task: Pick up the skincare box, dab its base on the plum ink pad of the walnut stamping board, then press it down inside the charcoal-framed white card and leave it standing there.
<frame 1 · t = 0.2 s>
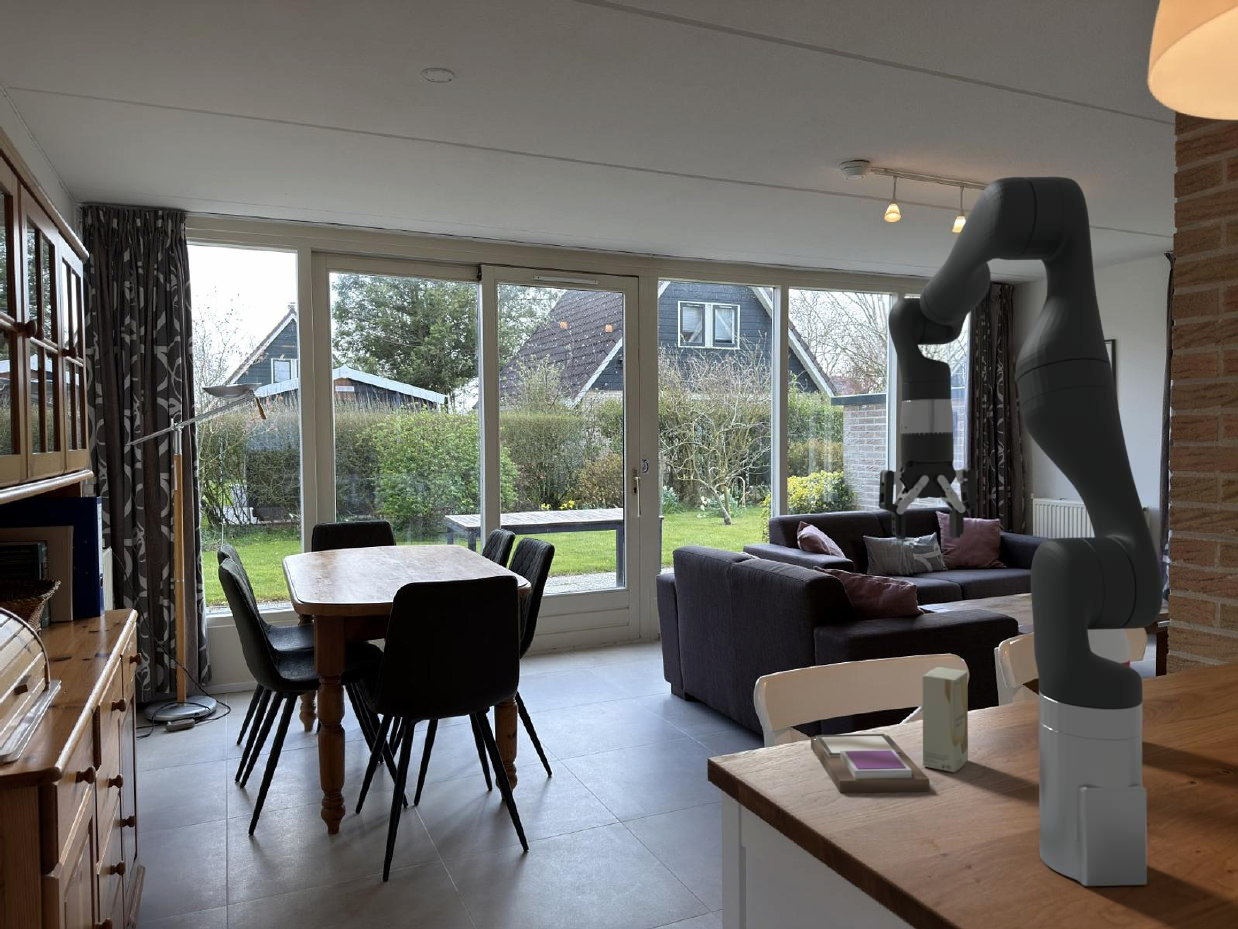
hand: (927, 538, 131), 28 cm above the kitchen island, fingers open, 8 cm apart
stamping board: (865, 767, 115), on the kitchen island
fruit juice: (1092, 740, 125), on the kitchen island
skincare box: (945, 765, 117), on the kitchen island
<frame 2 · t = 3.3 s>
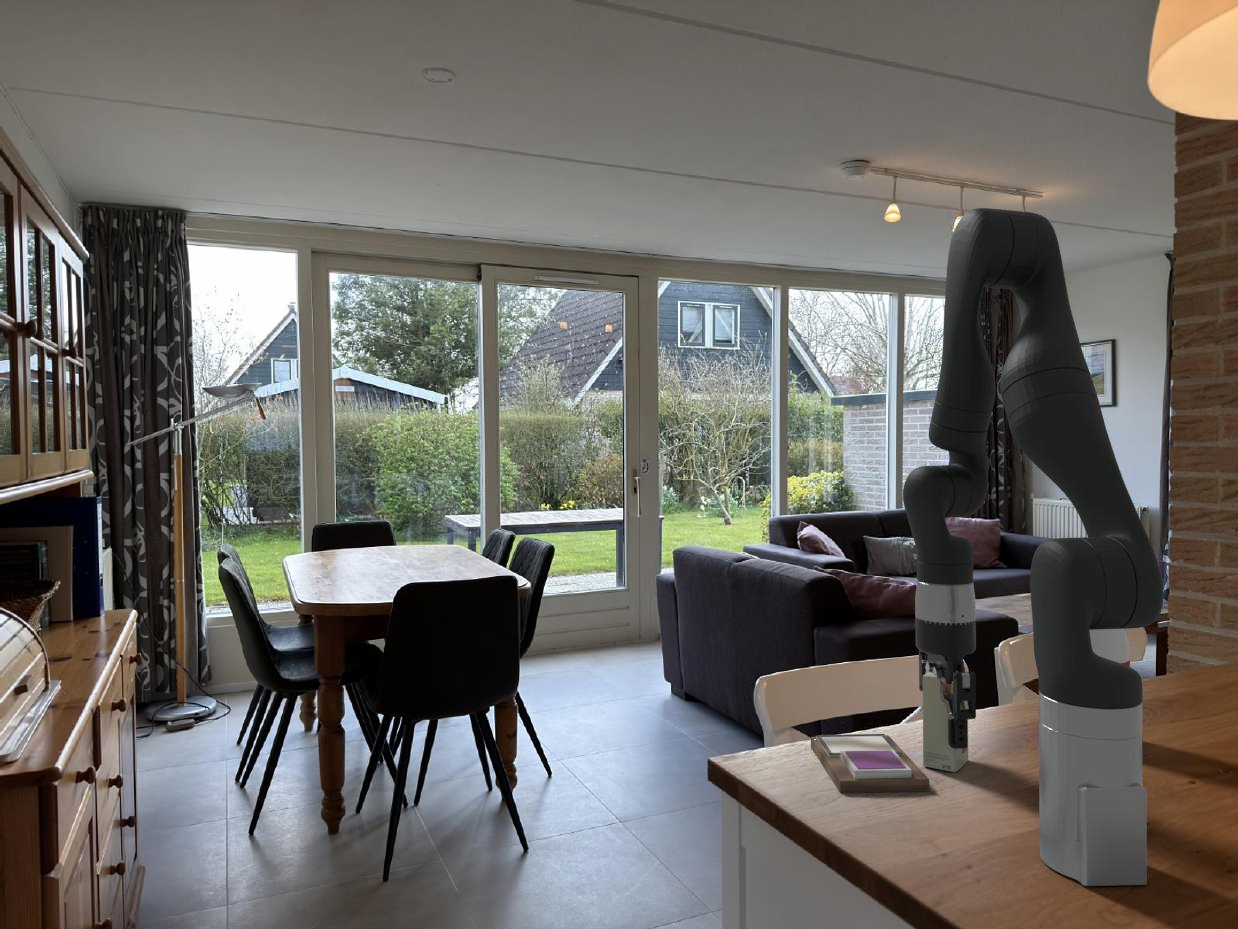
hand: (946, 737, 116), 4 cm above the kitchen island, fingers closed on skincare box, 7 cm apart
skincare box: (946, 765, 117), on the kitchen island, touching gripper
everything else where it was.
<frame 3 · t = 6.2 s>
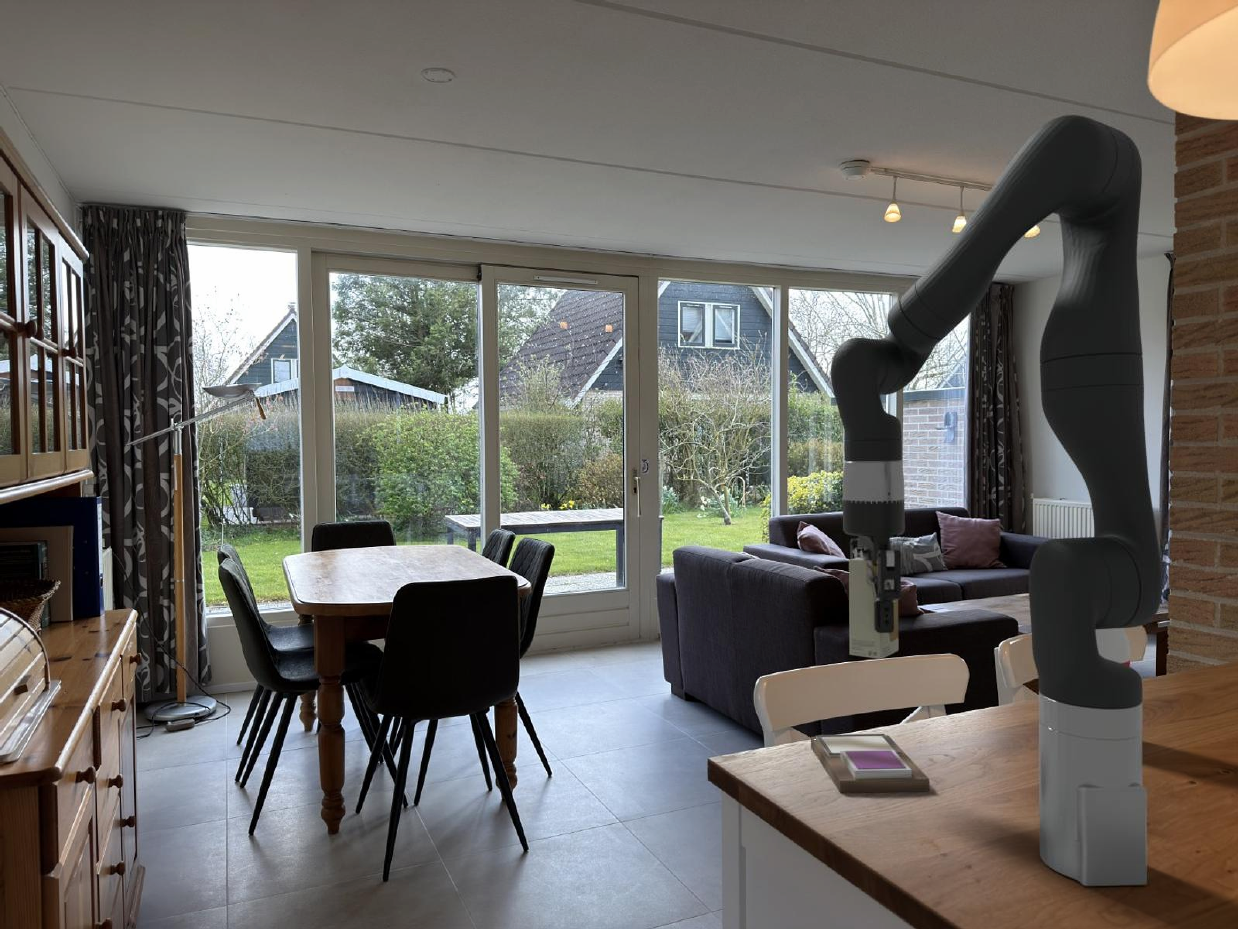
hand: (874, 625, 111), 20 cm above the kitchen island, fingers closed on skincare box, 7 cm apart
skincare box: (874, 654, 111), point 16 cm above the kitchen island, touching gripper
everything else where it was.
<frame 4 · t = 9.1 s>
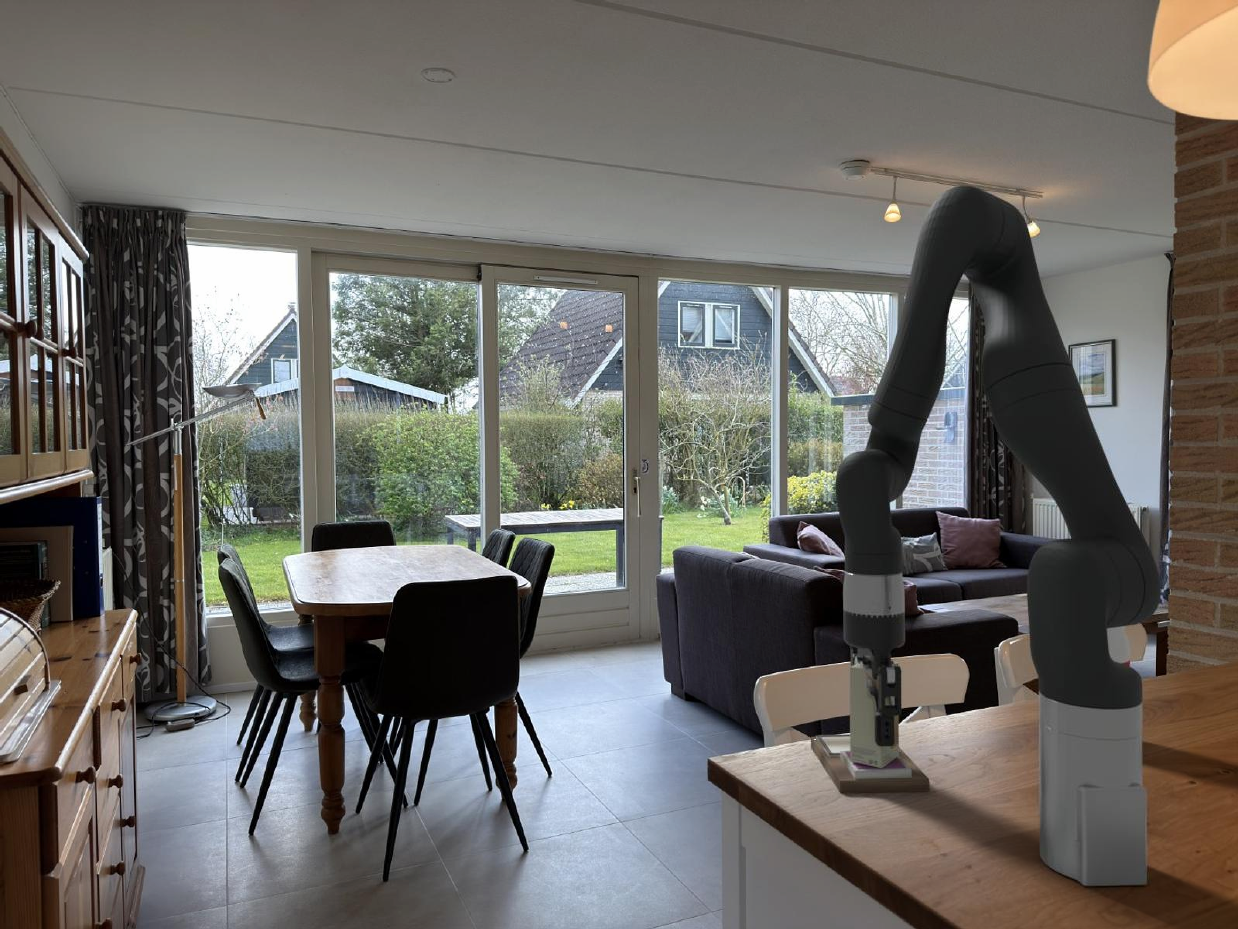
hand: (875, 734, 111), 6 cm above the kitchen island, fingers closed on skincare box, 7 cm apart
skincare box: (875, 760, 112), point 2 cm above the kitchen island, touching gripper, stamping board
everything else where it was.
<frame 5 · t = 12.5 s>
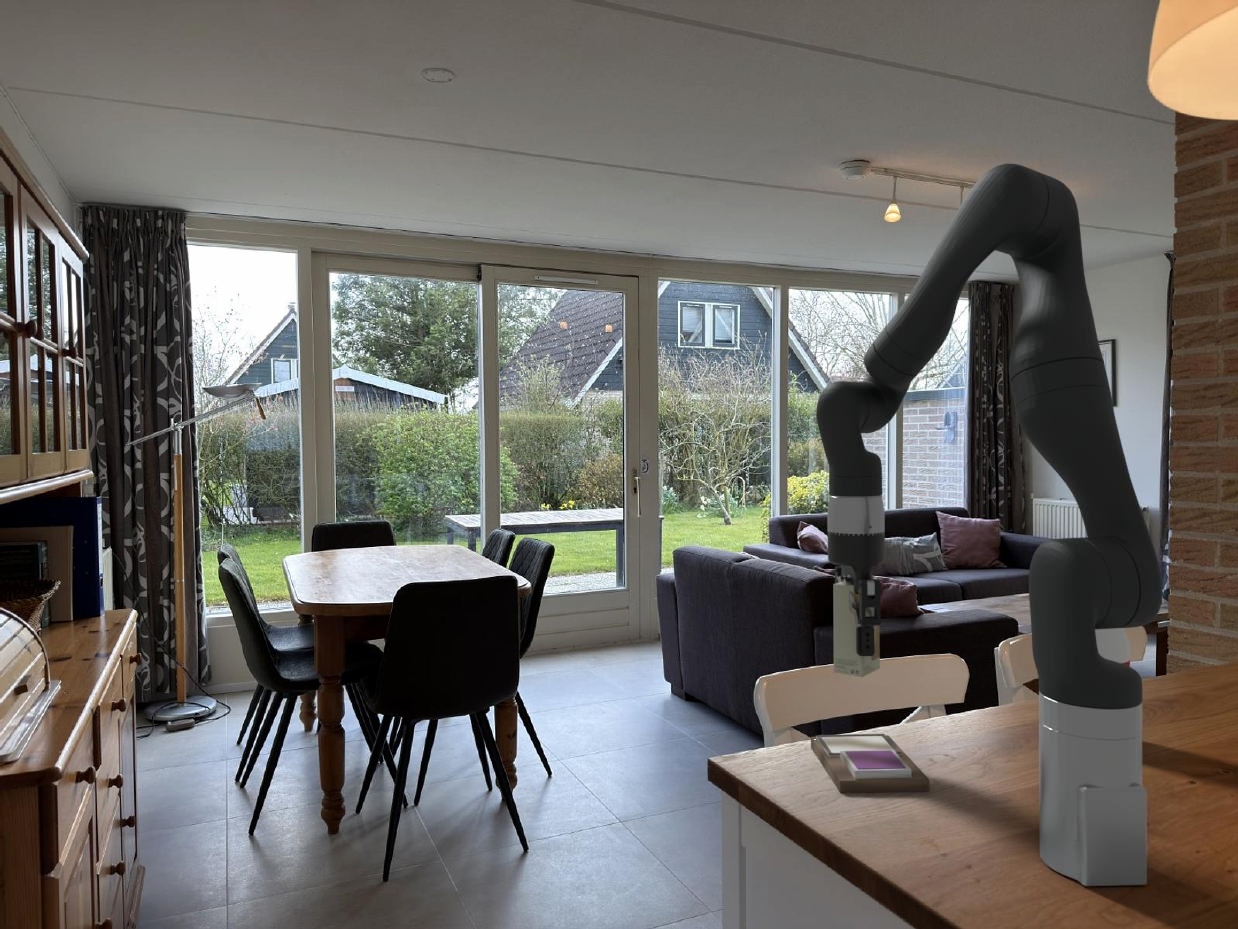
hand: (857, 648, 119), 15 cm above the kitchen island, fingers closed on skincare box, 7 cm apart
skincare box: (857, 672, 119), point 12 cm above the kitchen island, touching gripper
everything else where it was.
when the fingers open (5 cm above the kitchen island, at t = 15.3 s): skincare box stays where it is, resting on stamping board.
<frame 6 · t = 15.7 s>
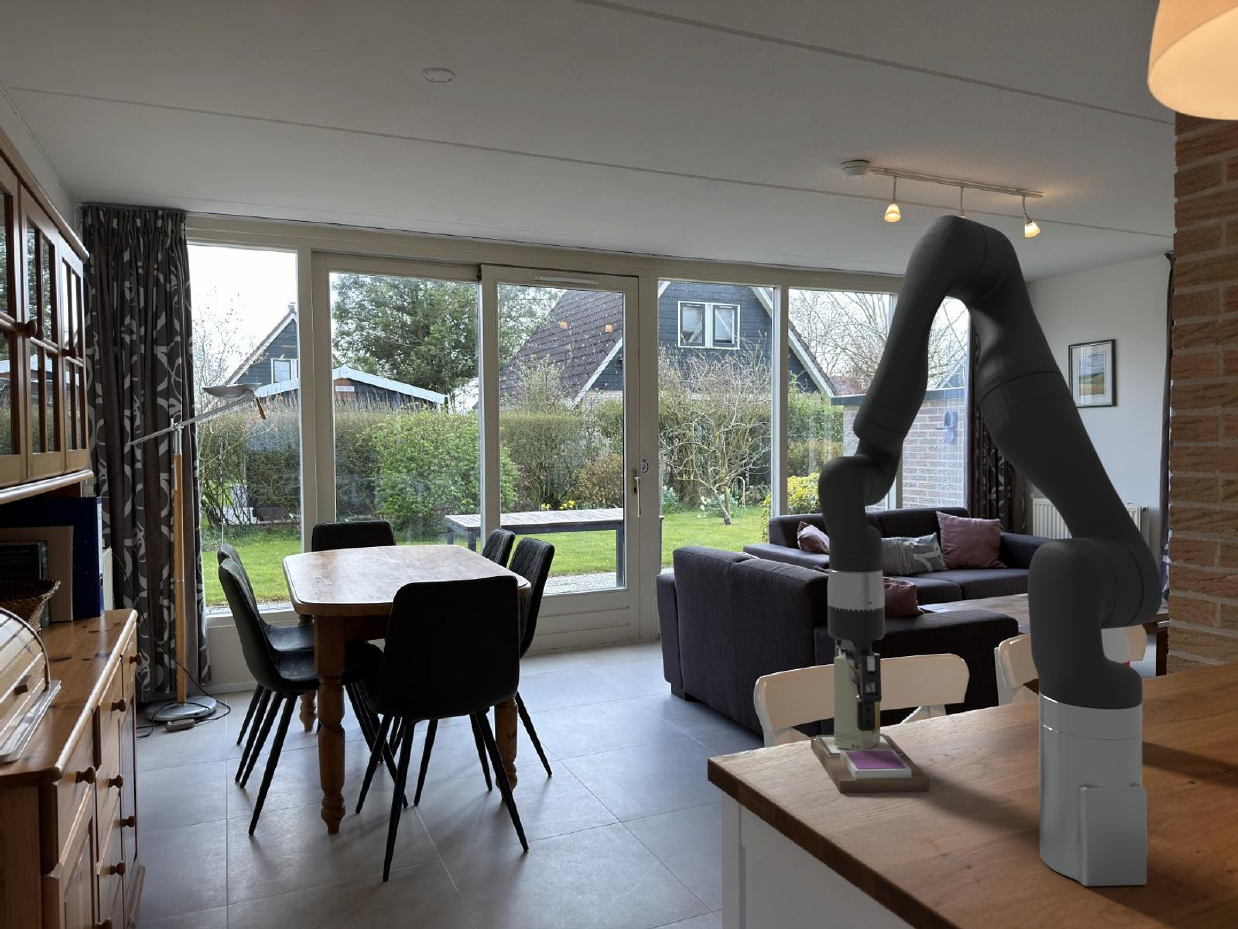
hand: (857, 719, 119), 5 cm above the kitchen island, fingers open, 8 cm apart
skincare box: (857, 745, 119), point 2 cm above the kitchen island, touching stamping board
everything else where it was.
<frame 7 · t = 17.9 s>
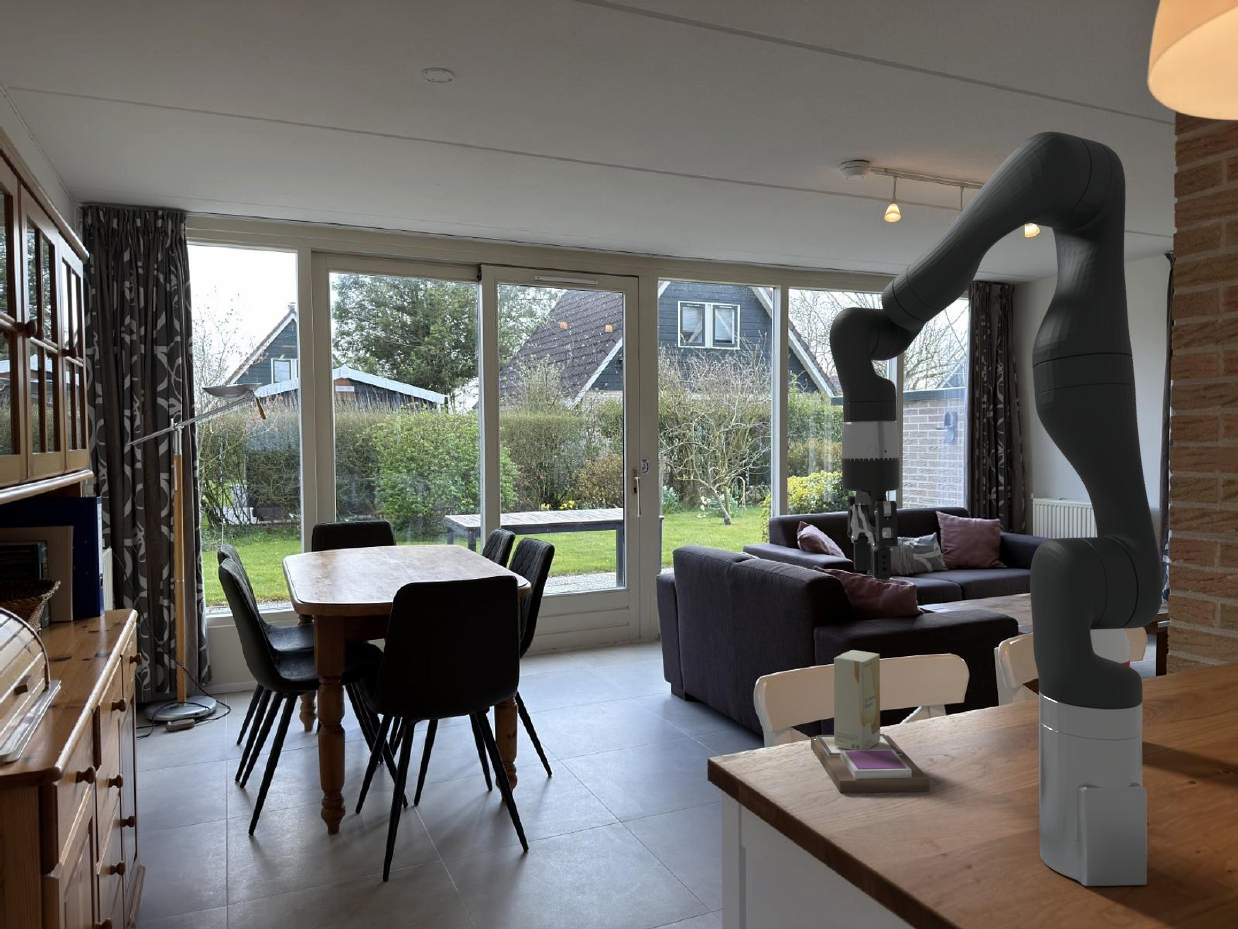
hand: (871, 574, 119), 25 cm above the kitchen island, fingers open, 8 cm apart
nothing on the kitchen island moved.
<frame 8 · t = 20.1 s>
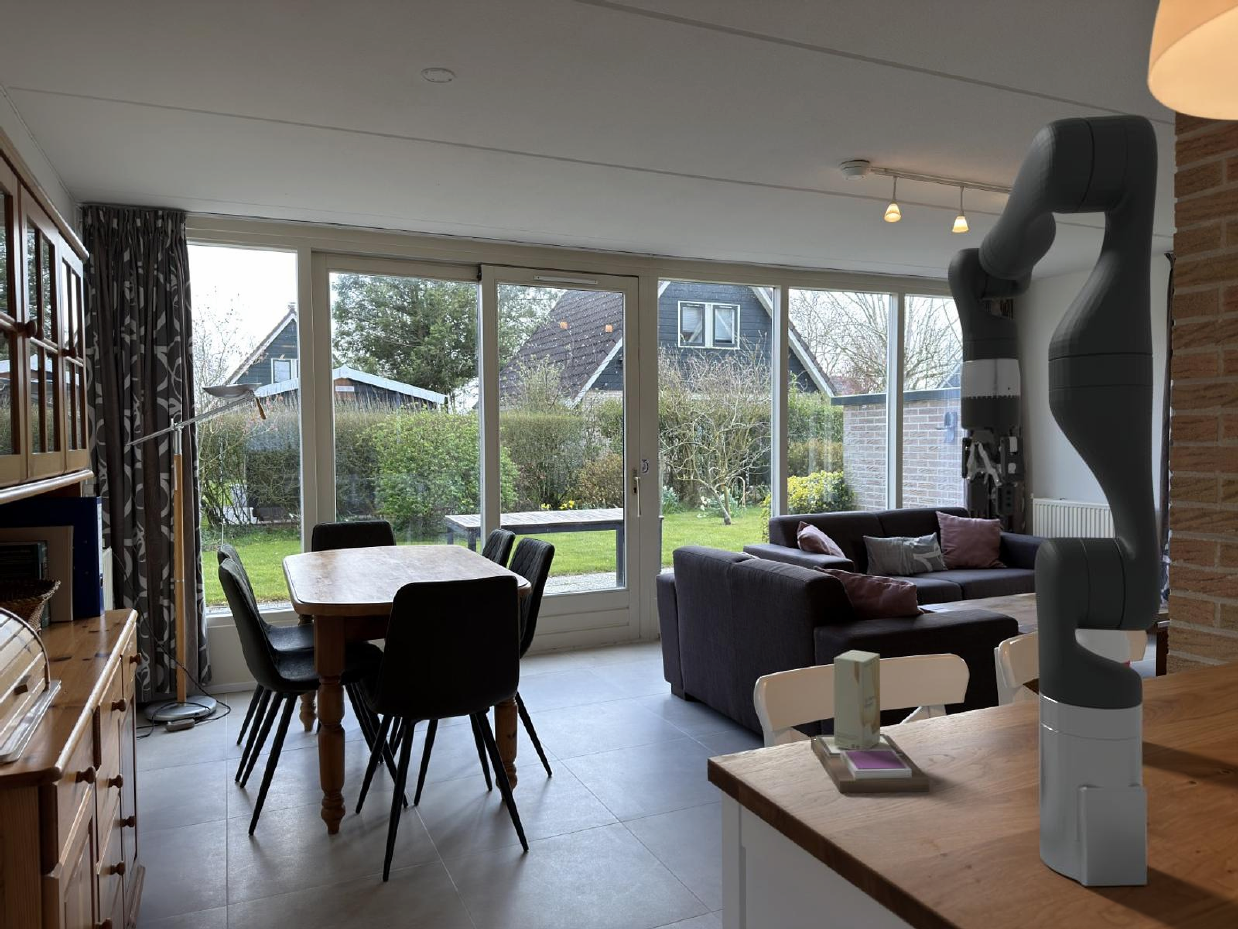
hand: (991, 512, 120), 33 cm above the kitchen island, fingers open, 8 cm apart
nothing on the kitchen island moved.
at the end: skincare box 0.1 cm from the target spot on the stamping board, point 1.6 cm above the stamping board's base; skincare box tilted 0°; the gripper is holding nothing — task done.
